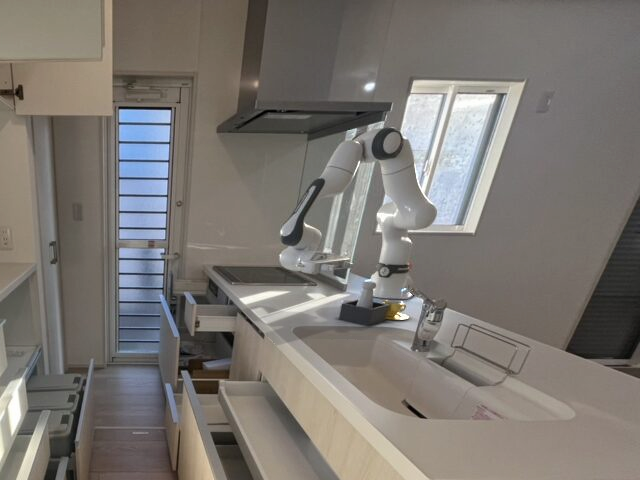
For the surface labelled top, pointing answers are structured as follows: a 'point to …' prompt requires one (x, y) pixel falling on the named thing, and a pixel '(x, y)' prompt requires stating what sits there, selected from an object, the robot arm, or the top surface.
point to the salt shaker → (367, 295)
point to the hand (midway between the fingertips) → (343, 267)
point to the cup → (395, 310)
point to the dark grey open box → (363, 313)
